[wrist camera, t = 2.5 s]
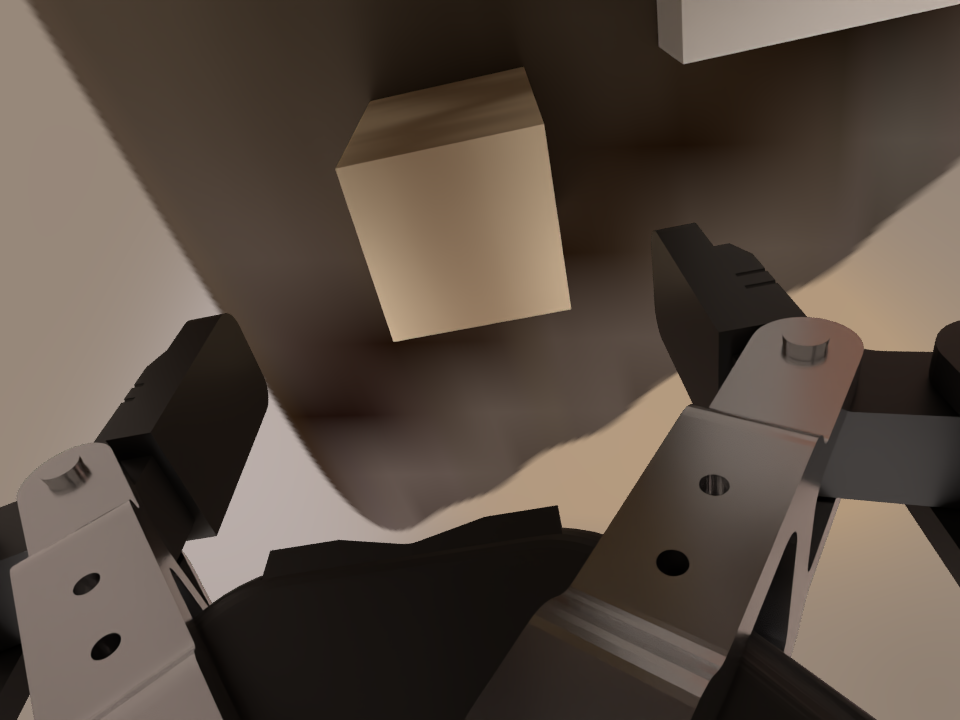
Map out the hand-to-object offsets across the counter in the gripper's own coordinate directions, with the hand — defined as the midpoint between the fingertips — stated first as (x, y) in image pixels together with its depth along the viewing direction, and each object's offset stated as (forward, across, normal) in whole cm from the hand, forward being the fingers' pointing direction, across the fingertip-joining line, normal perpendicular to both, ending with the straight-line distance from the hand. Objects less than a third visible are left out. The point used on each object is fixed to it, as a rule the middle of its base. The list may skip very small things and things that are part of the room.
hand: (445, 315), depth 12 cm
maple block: (+9, 0, 0) cm, 9 cm away
